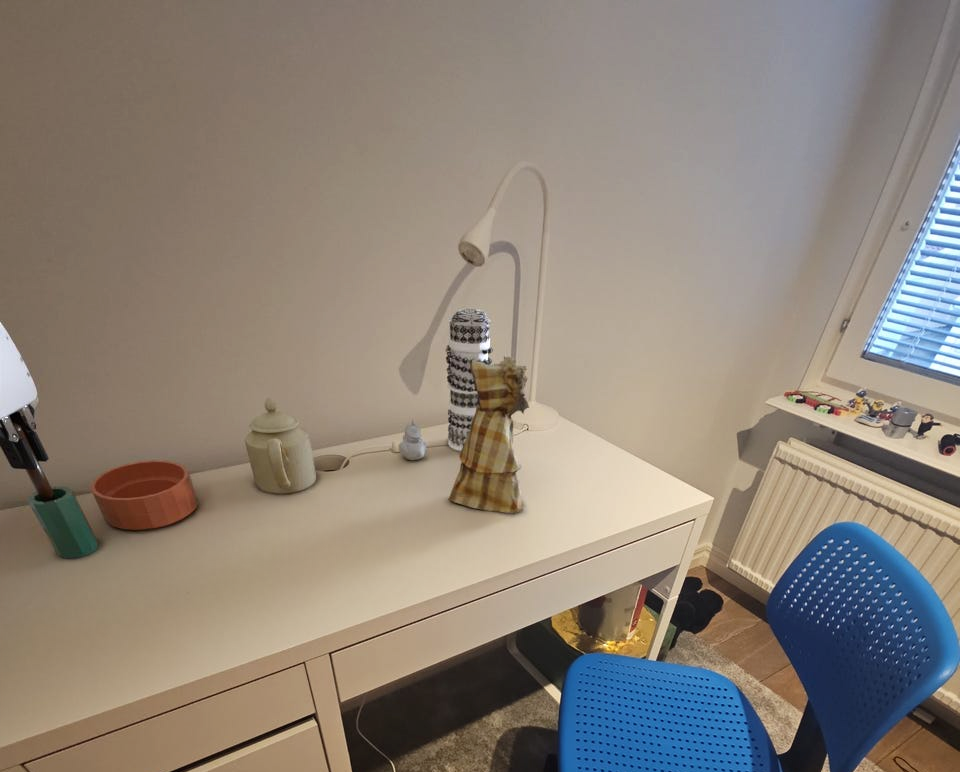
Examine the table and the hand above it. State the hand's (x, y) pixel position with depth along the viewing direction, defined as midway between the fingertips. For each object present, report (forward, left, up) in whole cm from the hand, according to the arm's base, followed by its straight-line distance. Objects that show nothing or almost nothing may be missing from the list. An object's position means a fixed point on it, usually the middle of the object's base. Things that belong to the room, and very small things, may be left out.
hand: (30, 463), depth 76 cm
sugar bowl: (+26, +24, -14) cm, 38 cm away
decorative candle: (+58, +46, -14) cm, 76 cm away
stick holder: (0, 0, -14) cm, 14 cm away
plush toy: (+63, +22, -14) cm, 69 cm away
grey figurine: (+47, +38, -14) cm, 62 cm away
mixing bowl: (+6, +12, -14) cm, 19 cm away
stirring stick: (0, 0, -10) cm, 10 cm away
